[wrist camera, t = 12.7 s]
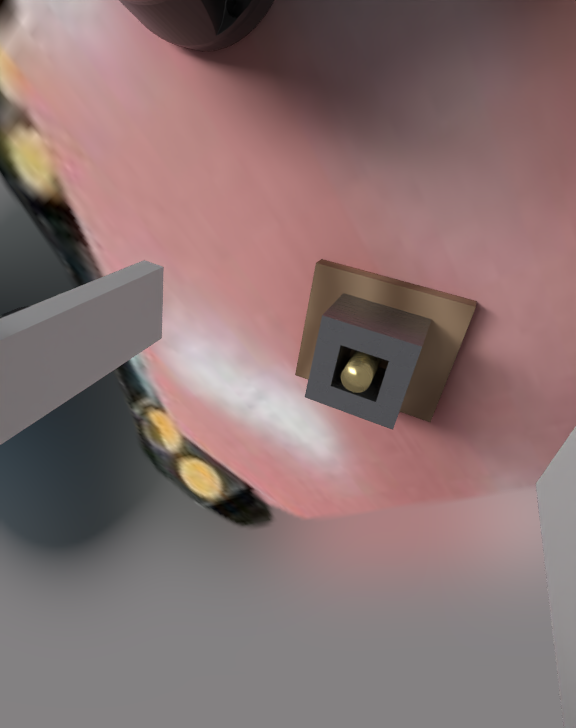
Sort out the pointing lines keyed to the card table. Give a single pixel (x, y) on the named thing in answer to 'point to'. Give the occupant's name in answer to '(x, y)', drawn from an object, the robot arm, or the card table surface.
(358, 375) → the keeper pin
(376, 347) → the grey hollow square block
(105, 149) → the card table surface
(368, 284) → the board
